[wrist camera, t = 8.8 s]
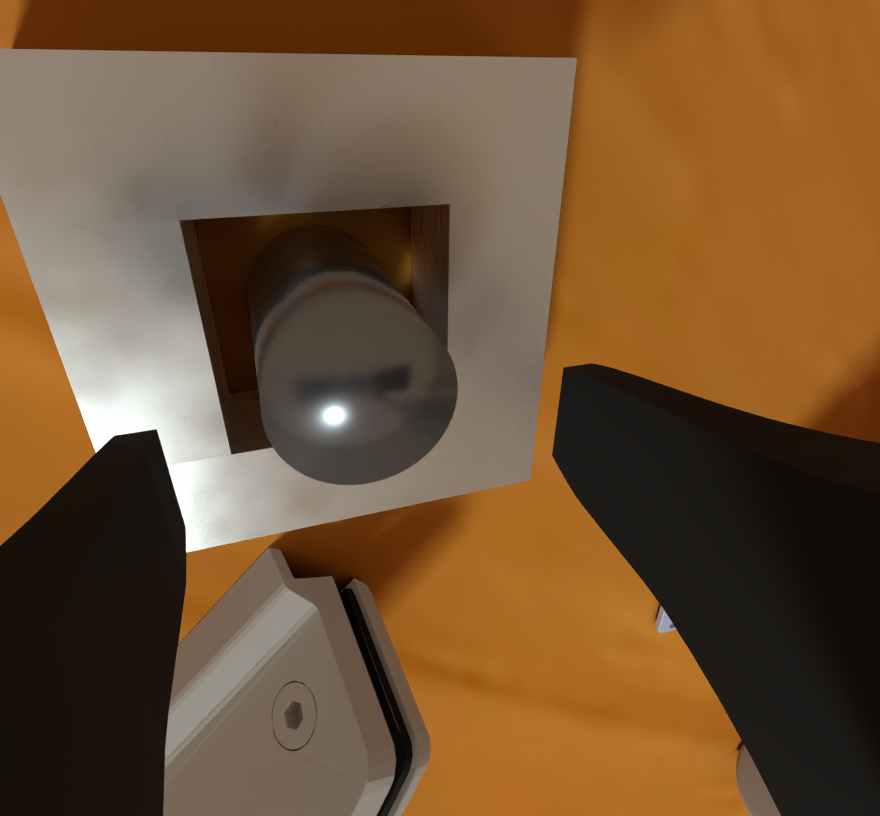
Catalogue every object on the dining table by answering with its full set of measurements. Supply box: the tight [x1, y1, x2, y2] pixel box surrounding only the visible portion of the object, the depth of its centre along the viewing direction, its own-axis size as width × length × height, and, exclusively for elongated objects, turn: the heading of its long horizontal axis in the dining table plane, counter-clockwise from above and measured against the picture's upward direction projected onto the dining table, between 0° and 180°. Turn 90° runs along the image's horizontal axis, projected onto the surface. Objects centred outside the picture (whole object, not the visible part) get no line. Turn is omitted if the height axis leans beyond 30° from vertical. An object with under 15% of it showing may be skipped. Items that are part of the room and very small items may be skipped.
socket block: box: [0, 49, 577, 552], centre depth 16 cm, size 12×12×4 cm
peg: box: [247, 225, 458, 485], centre depth 14 cm, size 4×4×7 cm
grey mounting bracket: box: [163, 547, 430, 816], centre depth 22 cm, size 17×5×10 cm, turn 134°
